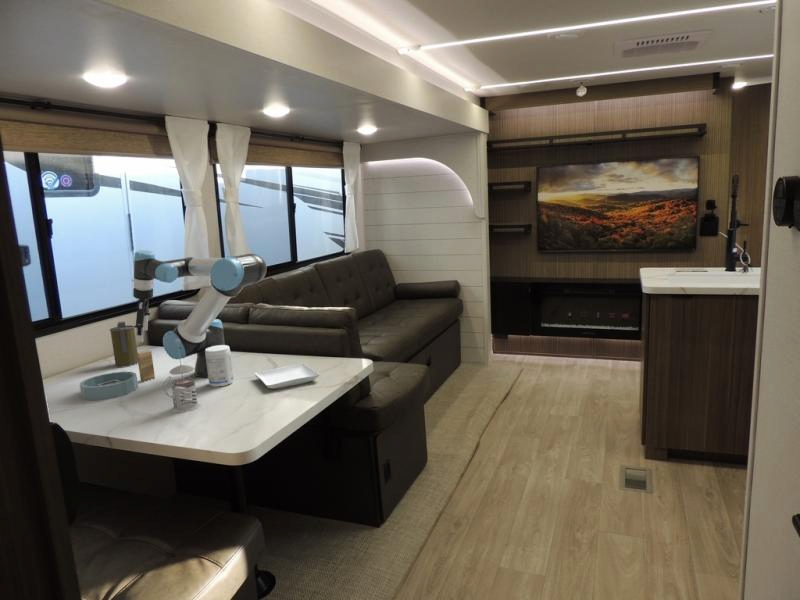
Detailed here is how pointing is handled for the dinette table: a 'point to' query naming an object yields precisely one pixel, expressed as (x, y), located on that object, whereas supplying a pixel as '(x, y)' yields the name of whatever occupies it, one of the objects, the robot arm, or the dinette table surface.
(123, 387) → the shallow blue tray
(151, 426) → the dinette table surface
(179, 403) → the french press
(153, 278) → the robot arm
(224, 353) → the supplement tub
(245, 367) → the dinette table surface
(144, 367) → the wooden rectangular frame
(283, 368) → the salad plate
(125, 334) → the canister
